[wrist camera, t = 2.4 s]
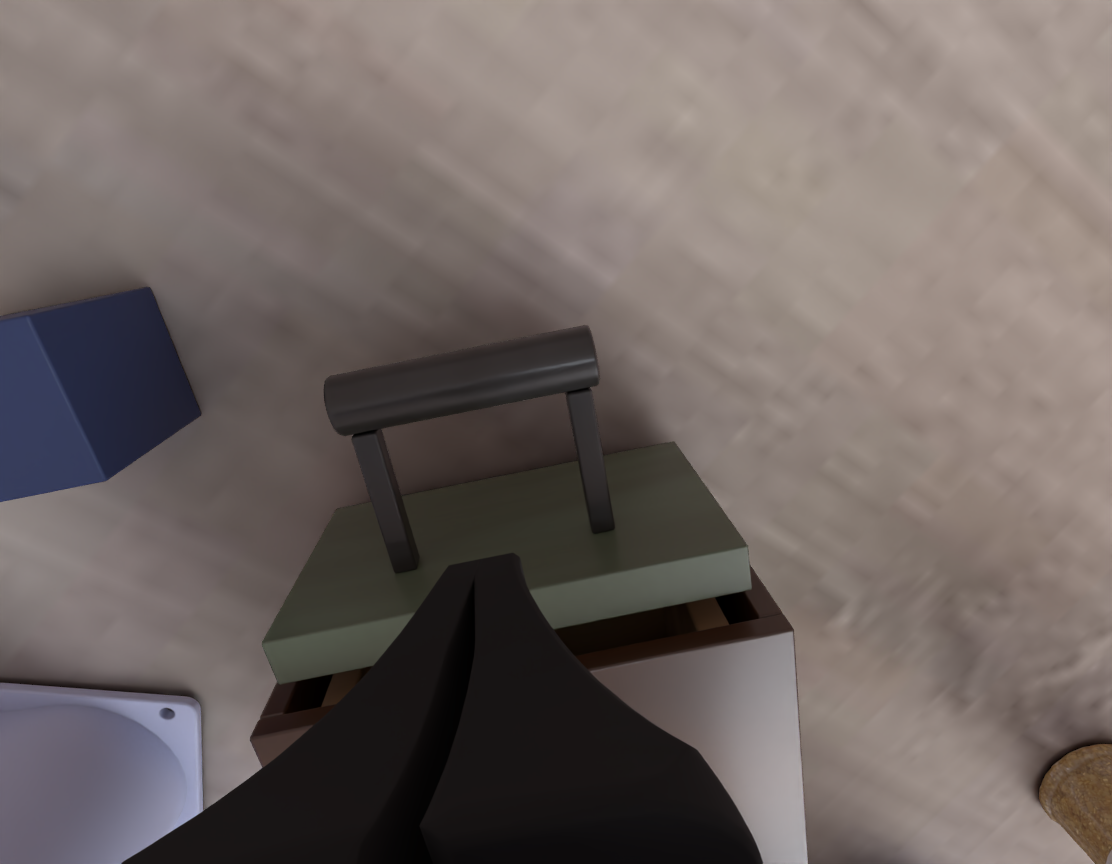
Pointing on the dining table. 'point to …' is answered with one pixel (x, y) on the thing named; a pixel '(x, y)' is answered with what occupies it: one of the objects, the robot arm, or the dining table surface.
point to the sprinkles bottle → (1083, 799)
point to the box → (86, 391)
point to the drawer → (506, 520)
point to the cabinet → (676, 710)
